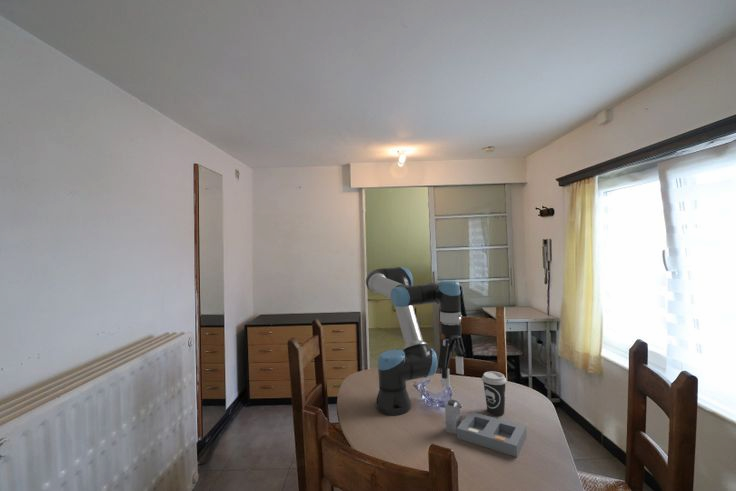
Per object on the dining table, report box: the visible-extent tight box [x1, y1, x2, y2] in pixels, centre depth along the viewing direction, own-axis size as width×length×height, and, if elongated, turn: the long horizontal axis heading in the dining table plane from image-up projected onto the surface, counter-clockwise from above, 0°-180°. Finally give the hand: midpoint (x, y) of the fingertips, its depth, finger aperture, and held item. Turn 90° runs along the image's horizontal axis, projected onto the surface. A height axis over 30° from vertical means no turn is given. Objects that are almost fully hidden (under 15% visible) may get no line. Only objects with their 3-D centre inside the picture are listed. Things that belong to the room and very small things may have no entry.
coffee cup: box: [481, 370, 507, 417], centre depth 135 cm, size 10×10×15 cm
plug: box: [444, 399, 462, 436], centre depth 123 cm, size 4×4×11 cm
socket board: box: [456, 411, 528, 458], centre depth 118 cm, size 20×14×4 cm
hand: (453, 379), depth 123 cm, fingers open, 13 cm apart
